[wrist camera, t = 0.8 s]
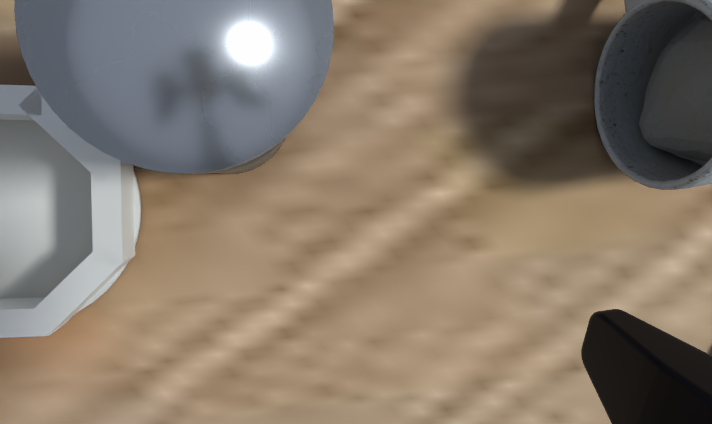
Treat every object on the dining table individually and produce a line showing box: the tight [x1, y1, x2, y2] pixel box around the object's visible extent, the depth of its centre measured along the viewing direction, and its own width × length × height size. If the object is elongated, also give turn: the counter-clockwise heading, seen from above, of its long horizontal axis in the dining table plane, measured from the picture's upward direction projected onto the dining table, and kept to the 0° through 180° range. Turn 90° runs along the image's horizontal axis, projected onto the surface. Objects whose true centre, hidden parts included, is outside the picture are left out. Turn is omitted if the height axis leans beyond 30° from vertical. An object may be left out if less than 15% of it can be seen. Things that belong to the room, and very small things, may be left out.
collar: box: [0, 85, 142, 338], centre depth 20 cm, size 9×9×2 cm
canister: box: [14, 0, 334, 174], centre depth 16 cm, size 5×5×13 cm
